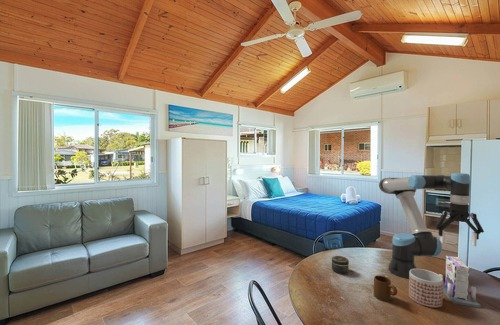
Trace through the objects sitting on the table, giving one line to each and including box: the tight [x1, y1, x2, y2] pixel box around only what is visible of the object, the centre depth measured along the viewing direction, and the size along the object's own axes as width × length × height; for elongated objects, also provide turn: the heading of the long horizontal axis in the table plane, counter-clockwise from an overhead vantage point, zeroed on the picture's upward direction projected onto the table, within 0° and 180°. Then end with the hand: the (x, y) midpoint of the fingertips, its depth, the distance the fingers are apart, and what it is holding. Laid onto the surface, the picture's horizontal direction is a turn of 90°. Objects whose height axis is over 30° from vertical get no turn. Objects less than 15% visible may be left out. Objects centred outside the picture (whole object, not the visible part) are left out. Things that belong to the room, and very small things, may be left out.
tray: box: [438, 273, 482, 309], centre depth 127 cm, size 12×20×7 cm, turn 163°
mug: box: [373, 275, 398, 302], centre depth 121 cm, size 12×8×9 cm, turn 20°
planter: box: [408, 268, 444, 309], centre depth 122 cm, size 14×14×13 cm
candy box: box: [444, 255, 470, 300], centre depth 126 cm, size 14×6×16 cm, turn 156°
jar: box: [331, 255, 350, 275], centre depth 151 cm, size 10×10×8 cm
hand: (457, 243), depth 126 cm, fingers open, 13 cm apart
